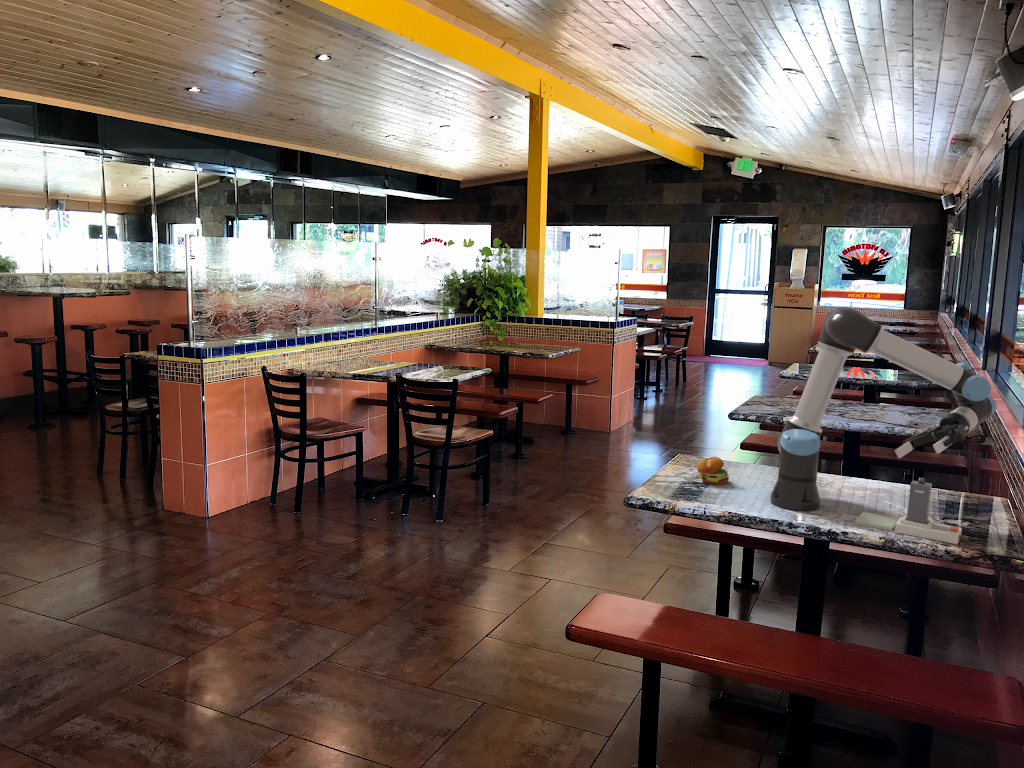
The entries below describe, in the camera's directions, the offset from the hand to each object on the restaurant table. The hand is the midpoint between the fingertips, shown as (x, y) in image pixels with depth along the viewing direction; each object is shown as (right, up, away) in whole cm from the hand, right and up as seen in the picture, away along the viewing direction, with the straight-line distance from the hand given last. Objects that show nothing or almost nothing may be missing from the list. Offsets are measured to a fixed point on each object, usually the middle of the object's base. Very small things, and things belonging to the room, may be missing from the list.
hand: (916, 451), depth 235 cm
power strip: (0, -23, -7) cm, 24 cm away
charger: (-3, -20, -6) cm, 21 cm away
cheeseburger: (-49, -15, +44) cm, 68 cm away
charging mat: (-11, -21, +2) cm, 24 cm away
